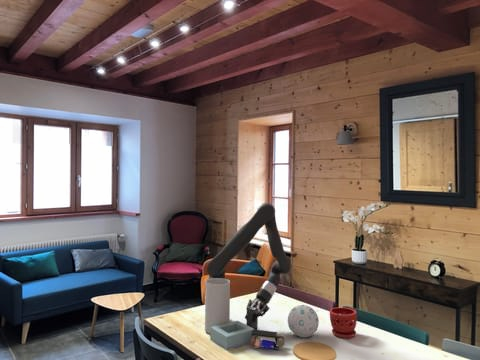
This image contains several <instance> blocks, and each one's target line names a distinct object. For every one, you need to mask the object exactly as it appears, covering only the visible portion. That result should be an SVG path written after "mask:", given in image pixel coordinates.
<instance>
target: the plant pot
mask: <svg viewBox="0 0 480 360" xmlns="http://www.w3.org/2000/svg"><path fill="white" fill-rule="evenodd" d="M357 314H358V313H357V310H355V309H353V308H350V307H343V306H341V307H333V308H330V309H329V321H330V324H331V327H332V329H331V333H332V334H333V335H335V336H336V337H339V338H344V339H345V338H346V339H348V338H349V339H350V338H353V337H354V336H355V335H357V331H356V326H357V321H358V320H357V318H358V316H357Z"/></svg>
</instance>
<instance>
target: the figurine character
mask: <svg viewBox="0 0 480 360" xmlns="http://www.w3.org/2000/svg"><path fill="white" fill-rule="evenodd" d="M277 334H278V332H277V331H272V330H271V331H270V330H263V329H258V330H254V329H253V330H252V334H251V335H254V336H255V337H253V338H252V339H251V343H250V344H251V347H252V348H254V349H258V348H260V347H262V348H267V349H272V350H274V351H280V348H283V347H284V346H285V336H284V335H283V334H278V335H277ZM260 337H265V338H273V339H274V340H269V339H261V338H260Z"/></svg>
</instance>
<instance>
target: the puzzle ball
mask: <svg viewBox="0 0 480 360" xmlns="http://www.w3.org/2000/svg"><path fill="white" fill-rule="evenodd" d="M319 323H320V321H319V316H318V313H317V312H316V311H315V309H313V307H311V306H309V305H306V304H299V305H296V306H294V307H293V308H292V309H290V312H289V313H288V316H287V324H288V328H289V330H290V331H291V332H292V333H293V334H294V335H296V336H297V337H300V338H309V337H311V336H313V335H314V334H315V333H316V332H317V330H318V328H319Z"/></svg>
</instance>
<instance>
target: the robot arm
mask: <svg viewBox="0 0 480 360" xmlns="http://www.w3.org/2000/svg"><path fill="white" fill-rule="evenodd" d="M264 226H265V229H266V235H267V239H268V245H269V249H270V253H271V255H272V257H273V258H275V259H276V261H274V262H273V263H272V266H271V267H270V268H271V269H270V271H269V274H268V276H267V278H266V279H265V281H264V282H263V284H262V285H261V287H260V288H259V290H258V292H257V293H256V294H255V298H254V299H251V298H250V299H249V300H248V302H247V305H246V307H245V308H246V310H247V307H251V306H254V307H257V311H256V313H255V314H254V316H253V317H252V319H251V321H252V322H253V323H254V322H255V321H256V319H257V318H259V317H263V316H265V314H266V313H267V312H268V311H269V310H270V306H268V304H269V303H270V301H271V300H272V298H273V296H274V295H275V293H276V290H277V289H278V287H279V285H280V283H281V282H282V279H281V277H280V275H281V274H282V275H288V274H289V273H290V272H291V270H292V269H291V268H292V265H291V262H290V260H289V258H288V255H287V254H286V252H285V250H284V246H283V242H282V240H281V239H282V238H281V235H280V233H279V230H278V225H277V219H276V208H275V206H273V204H272V203H269V202H264V203H262V204H261V205H260V206H259V207H258V209H257V210H256V212H255V213H254V214H253V216H252V217H251V218H250V219H249V220H248V221H247V222H246V223H245V224H243V225H242V226H241V227H240V228H239V229H238V230H237V231H236V232H235V233H234V234H233V235H232V236H231V237H230V238H229V240H228V241H227V243H226V244H225V245H224V246H223V248H222V249H221V250H220V251H219V253H217V255H215V256H214V257H213V258H212V259H210V260H209V261H208V262H207V264H206V268H205V269H206V273H207V274H208V279H214V278H222V279H226V267H227V265H229V263H230V262H231V261H232V260H233V259H234V258H235V257H236V256H238V254H240V253H241V252H242V251H243V250H244V249H245V248H246V247H247V246H248V245H249V244H250V243H251V242H252V240H253V239H254V238H255V236H256V235H257V233H258V232H259V231H260V229H262V228H263V227H264ZM244 319H245V320H246V321H247V313H246V314H245V316H244Z"/></svg>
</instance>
